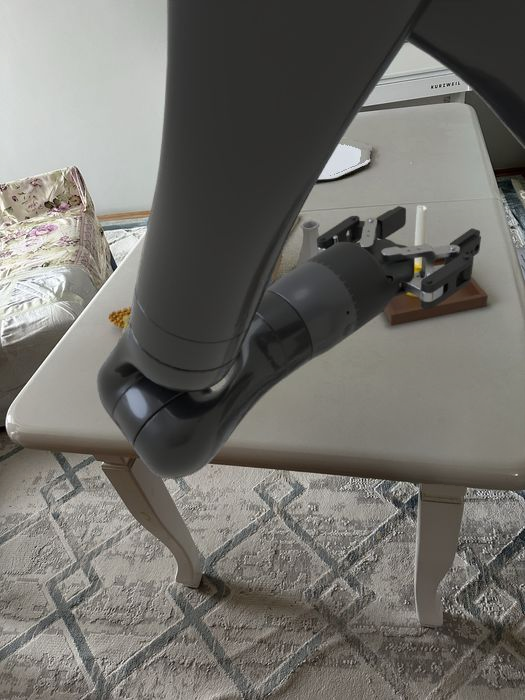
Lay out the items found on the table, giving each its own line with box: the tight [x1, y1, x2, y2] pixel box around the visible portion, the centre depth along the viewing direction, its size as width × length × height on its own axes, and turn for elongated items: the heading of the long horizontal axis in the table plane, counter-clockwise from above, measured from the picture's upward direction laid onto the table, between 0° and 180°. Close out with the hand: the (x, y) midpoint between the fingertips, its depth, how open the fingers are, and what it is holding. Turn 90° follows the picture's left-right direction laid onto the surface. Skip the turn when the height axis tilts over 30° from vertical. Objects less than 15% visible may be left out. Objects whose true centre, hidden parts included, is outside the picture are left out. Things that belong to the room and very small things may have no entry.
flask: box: [295, 219, 320, 268], centre depth 96 cm, size 7×7×10 cm
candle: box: [406, 204, 428, 297], centre depth 84 cm, size 5×5×16 cm
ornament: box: [108, 306, 132, 335], centre depth 91 cm, size 7×10×15 cm
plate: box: [317, 144, 371, 182], centre depth 138 cm, size 28×28×2 cm
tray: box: [382, 258, 489, 327], centre depth 88 cm, size 16×16×3 cm
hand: (437, 225), depth 52 cm, fingers open, 8 cm apart
